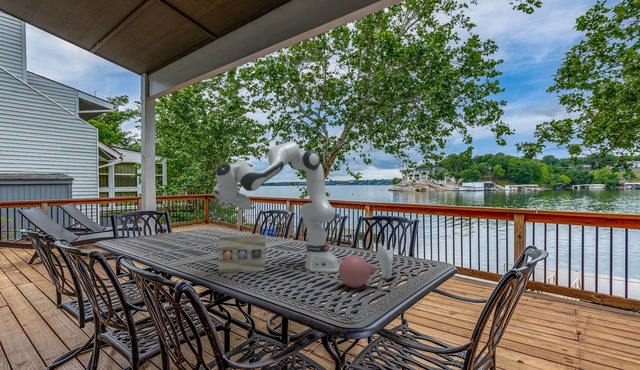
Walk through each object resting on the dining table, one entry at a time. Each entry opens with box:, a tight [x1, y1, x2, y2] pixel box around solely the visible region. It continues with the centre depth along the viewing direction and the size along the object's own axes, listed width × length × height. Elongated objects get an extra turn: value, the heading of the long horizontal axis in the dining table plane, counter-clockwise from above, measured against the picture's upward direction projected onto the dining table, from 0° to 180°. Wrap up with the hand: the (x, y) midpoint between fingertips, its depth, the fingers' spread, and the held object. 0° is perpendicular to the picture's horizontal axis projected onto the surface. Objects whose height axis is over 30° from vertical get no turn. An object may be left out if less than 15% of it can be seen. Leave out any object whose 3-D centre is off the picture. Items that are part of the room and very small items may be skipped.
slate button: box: [238, 250, 246, 259], centre depth 174 cm, size 4×4×4 cm
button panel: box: [218, 234, 266, 274], centre depth 181 cm, size 13×26×20 cm, turn 101°
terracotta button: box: [223, 251, 232, 260], centre depth 173 cm, size 4×4×4 cm
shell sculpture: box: [377, 244, 394, 280], centre depth 165 cm, size 8×8×18 cm
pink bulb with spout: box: [338, 254, 380, 289], centre depth 150 cm, size 15×20×15 cm
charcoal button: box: [253, 250, 260, 259], centre depth 176 cm, size 4×4×4 cm
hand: (235, 206), depth 166 cm, fingers open, 8 cm apart
